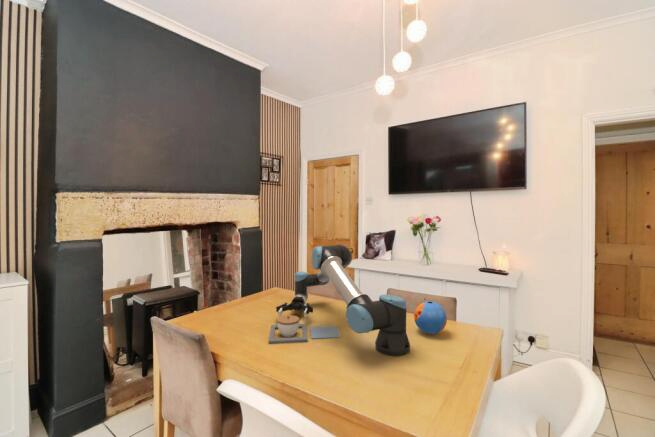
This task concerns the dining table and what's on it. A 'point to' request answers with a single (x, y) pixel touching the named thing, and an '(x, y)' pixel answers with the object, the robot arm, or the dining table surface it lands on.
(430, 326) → the treat dispenser ball
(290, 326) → the lidded jar
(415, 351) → the dining table surface
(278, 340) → the puzzle board
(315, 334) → the pad
